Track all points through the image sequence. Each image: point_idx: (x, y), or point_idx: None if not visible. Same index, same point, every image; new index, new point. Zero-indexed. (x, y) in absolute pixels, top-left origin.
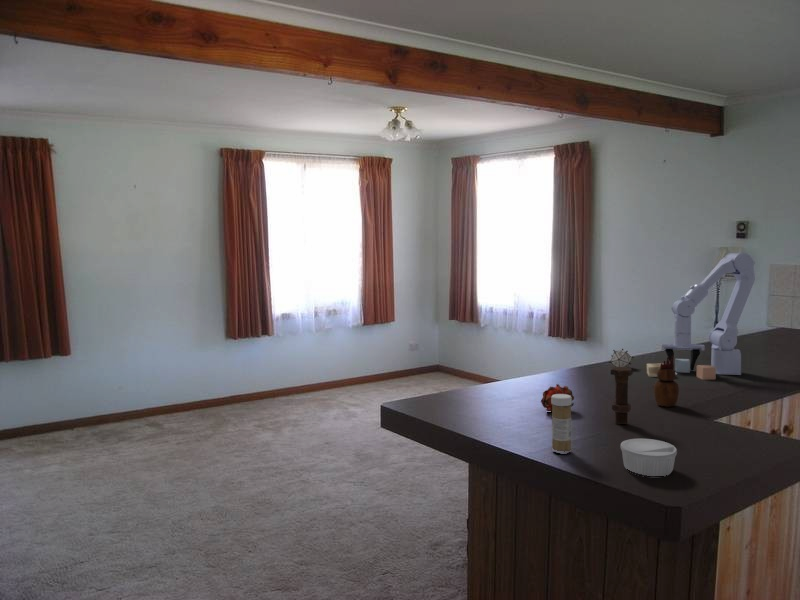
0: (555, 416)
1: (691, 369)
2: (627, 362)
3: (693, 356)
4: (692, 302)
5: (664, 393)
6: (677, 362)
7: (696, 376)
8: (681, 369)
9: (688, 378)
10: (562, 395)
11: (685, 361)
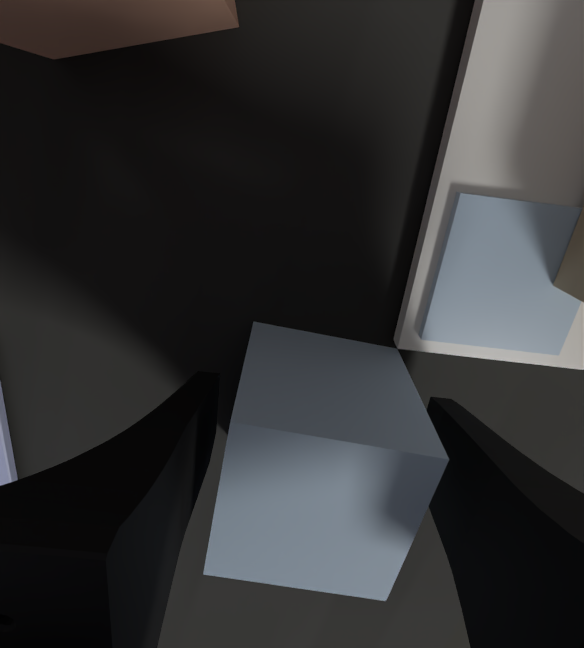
0: None
1: (218, 376)
2: None
3: (141, 478)
4: None
5: None
6: (423, 437)
7: (233, 16)
8: (349, 367)
9: (341, 68)
10: None
11: (304, 429)
